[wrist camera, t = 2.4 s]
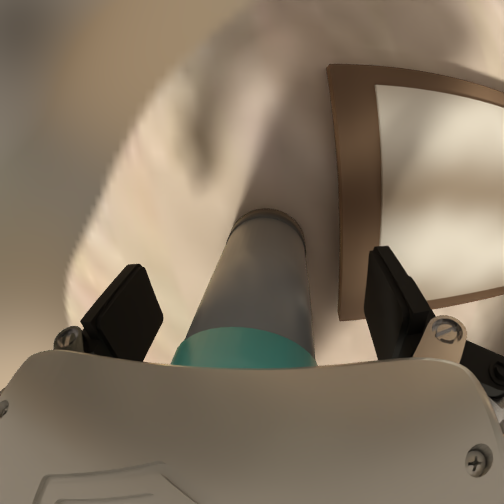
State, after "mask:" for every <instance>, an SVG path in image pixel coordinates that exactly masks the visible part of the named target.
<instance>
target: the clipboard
mask: <svg viewBox="0 0 504 504" xmlns="http://www.w3.org/2000/svg"><path fill="white" fill-rule="evenodd" d="M326 70H327V76H328V83H329V90H330V97H331V105H332V113H333V122H334V132H335V143H336V155H337V169H338V188H339V218H340V263H339V294H338V315H339V320H340V321H349V320H359V319H366V317H365V314H364V299H365V291H366V281H367V271H368V259H369V251H372V250H373V249H374V247H376V246H389V247H390V249H391V250H392V252H393V253H394V255H395V256H396V257H397V259H398V260H399V262H400V263H401V265H402V266H403V268H404V270H405V271H406V273H407V274H408V276H411V277H412V278H413V280H414V281H415V283H416V285H417V286H418V288H419V289H420V291H421V293H422V294H423V296H424V298H425V299H426V301H427V303H428V304H429V306H430V308H431V309H438V308H443V307H449V306H454V305H459V304H464V303H469V302H473V301H478V300H482V299H487V298H491V297H495V296H499V295H503V294H504V93H503V92H500V91H497V90H494V89H491V88H488V87H485V86H482V85H479V84H475V83H472V82H468V81H465V80H461V79H457V78H453V77H448V76H444V75H439V74H434V73H429V72H423V71H417V70H410V69H403V68H394V67H384V66H372V65H351V64H329V65H328V67H327V68H326Z"/></svg>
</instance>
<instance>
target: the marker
mask: <svg viewBox="0 0 504 504" xmlns="http://www.w3.org/2000/svg"><path fill="white" fill-rule="evenodd" d="M170 365H181V366H195V367H214V368H292V367H311V366H318V365H317V363H316V361H315V350H314V337H313V325H312V314H311V303H310V293H309V284H308V275H307V266H306V250H305V242H304V236H303V233H302V230H301V228H300V227H299V225H298V224H297V223H296V221H295V220H294V219H293V218H291V217H290V216H289V215H287V214H285V213H283V212H281V211H278V210H274V209H257V210H254V211H251V212H249V213H247V214H245V215H244V216H242V217H241V218H240V219H239V220H238V221H237V222H236V224H235V225H234V227H233V229H232V231H231V233H230V235H229V237H228V240H227V243H226V246H225V248H224V251H223V253H222V255H221V257H220V260H219V262H218V264H217V266H216V269H215V271H214V273H213V275H212V278H211V280H210V282H209V284H208V287H207V289H206V291H205V294H204V296H203V298H202V300H201V303H200V305H199V307H198V310H197V312H196V314H195V317H194V319H193V321H192V324H191V326H190V328H189V331H188V333H187V336H186V338H185V340H184V341H183V342H182V343H181V344H180V346H179V347H178V348H177V350H176V353H175V355H174V357H173V360H172V362H171V364H170Z"/></svg>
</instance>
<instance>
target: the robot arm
mask: <svg viewBox="0 0 504 504" xmlns="http://www.w3.org/2000/svg"><path fill="white" fill-rule="evenodd" d="M364 314H365V317H366V321H367V324H368V327H369V330H370V333H371V337H372V340H373V344H374V347H375V351H376V354H377V358H378V360H377V361H368V362H357V363H348V364H338V365H325V366H311V367H292V368H214V367H195V366H181V365H169V364H159V363H149V362H143V360H144V358H145V356H146V354H147V352H148V350H149V348H150V346H151V344H152V342H153V340H154V338H155V336H156V334H157V332H158V330H159V328H160V326H161V324H162V322H163V313H162V311H161V309H160V306H159V304H158V301H157V299H156V296H155V293H154V291H153V288H152V286H151V283H150V280H149V278H148V275H147V272H146V270H145V268H144V267H142V266H141V265H140V264H130V265H127V266H126V267H125V268H124V269H123V270H122V271H121V273H120V274H119V275H118V276H117V277H116V278H115V279H114V281H113V282H112V283H111V284H110V285H109V286H108V288H107V289H106V290H105V291H104V292H103V294H102V295H101V296H100V297H99V298H98V300H97V301H96V302H95V303H94V304H93V306H92V307H91V308H90V309H89V311H88V312H87V313H86V314H85V316H84V317H83V318H82V319H81V321H80V322H81V324H82V325H83V327H84V329H83V330H81V328H79V327H78V326H70V327H67V328H66V329H64V330H62V331H61V332H60V333H59V334H58V335H57V336H56V338H55V340H54V350H48V351H43V352H39V353H36V354H33V355H31V356H30V357H29V358H28V359H27V360H26V361H25V362H24V363H23V364H22V365H21V367H20V368H19V369H18V370H17V372H16V373H15V374H14V376H13V377H12V379H11V380H10V382H9V383H8V385H7V386H6V387H5V388H4V389H3V390H1V391H0V504H504V357H503V356H501V355H499V354H496V353H494V352H492V351H490V350H487V349H485V348H483V347H481V346H478V345H476V344H474V343H472V342H469V341H467V340H466V338H467V331H466V328H465V326H464V325H463V324H462V323H461V322H460V321H459V320H458V319H456V318H454V317H451V316H447V315H440V316H437V317H436V316H435V315H434V313H433V311H432V309H431V308H430V306H429V304H428V303H427V301H426V299H425V298H424V296H423V294H422V293H421V291H420V289H419V288H418V286H417V285H416V283H415V281H414V280H413V278H412V277H411V276H408V274H407V273H406V271H405V270H404V268H403V266H402V265H401V263H400V262H399V260H398V259H397V257H396V256H395V255H394V253H393V252H392V250H391V249H390V247H389V246H376V247H374V249H373V250H372V251H369V259H368V271H367V281H366V291H365V299H364Z"/></svg>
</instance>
